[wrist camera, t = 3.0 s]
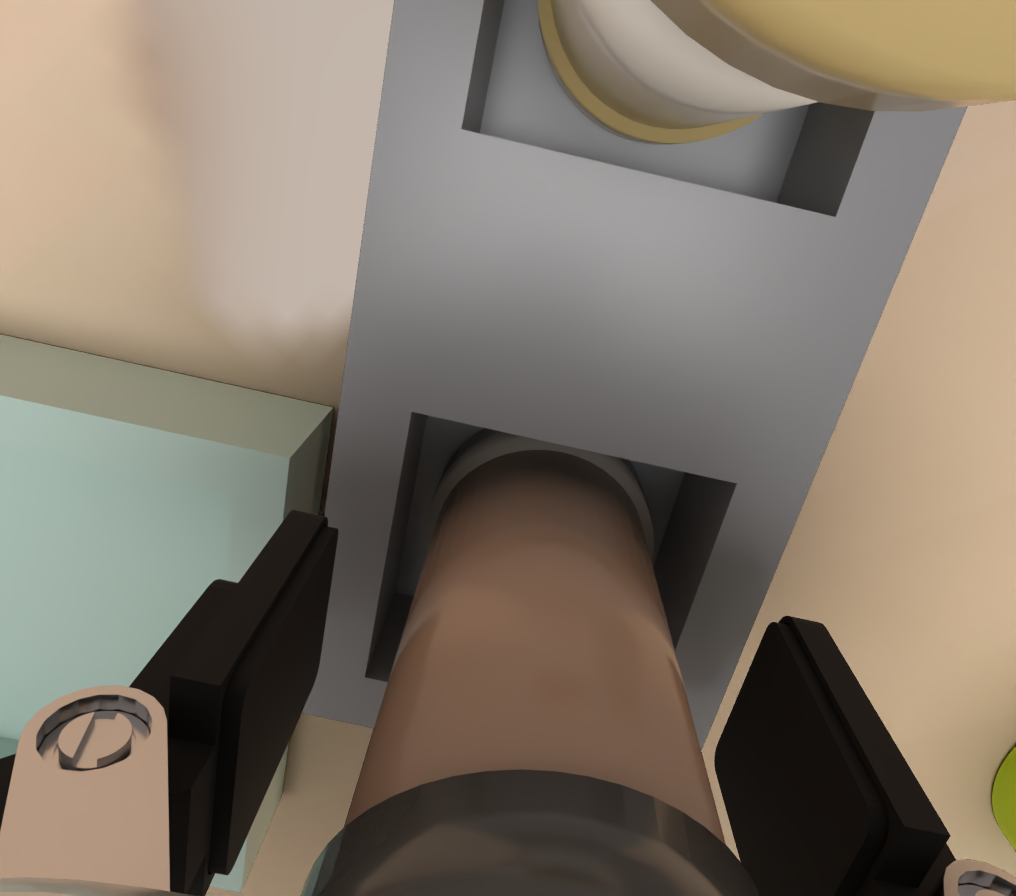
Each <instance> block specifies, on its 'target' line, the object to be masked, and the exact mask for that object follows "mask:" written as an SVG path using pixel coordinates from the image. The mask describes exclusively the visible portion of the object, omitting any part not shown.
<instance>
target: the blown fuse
mask: <svg viewBox="0 0 1016 896" xmlns="http://www.w3.org/2000/svg"><path fill="white" fill-rule="evenodd" d="M653 549H654V534H653V527H652V522H651V517H650V514H649V510H648V507H647V503H646V500H645V497H644V493H643V490H642V486H641V483H640V481H639V478H638V475H637V473H636V471H635V469H634V467H633V465H632V463H631V462H630V460H628V459H623V458H619V457H614V456H610V455H605V454H601V453H596V452H592V451H587V450H582V449H578V448H573V447H569V446H564V445H560V444H555V443H551V442H546V441H542V440H537V439H533V438H528V437H523V436H519V435H514V434H510V433H505V432H501V431H496V430H492V429H487V428H483V429H482V430H480V431H479V432H477V433H476V434H474V435H473V436H471V437H470V438H469V439H468V440H467V441H466V442H464V443H463V444H462V445H461V446H460V447H459V448H458V450H457V451H456V452H455V453H454V454H453V456H452V457H451V458H450V460H449V462H448V463H447V465H446V467H445V469H444V471H443V473H442V475H441V478H440V480H439V483H438V486H437V489H436V492H435V495H434V498H433V501H432V504H431V507H430V510H429V514H428V518H427V521H426V528H425V552H426V558H425V561H424V565H423V568H422V571H421V575H420V578H419V581H418V585H417V588H416V591H415V594H414V598H413V601H412V604H411V608H410V611H409V614H408V617H407V621H406V624H405V627H404V631H403V634H402V637H401V641H400V644H399V647H398V650H397V654H396V657H395V660H394V664H393V667H392V670H391V673H390V677H389V680H388V683H387V687H386V690H385V693H384V697H383V700H382V703H381V706H380V710H379V713H378V716H377V720H376V723H375V726H374V729H373V733H372V736H371V739H370V743H369V746H368V749H367V753H366V756H365V759H364V762H363V766H362V769H361V772H360V776H359V779H358V782H357V785H356V789H355V792H354V795H353V799H352V802H351V805H350V809H349V812H348V815H347V818H346V822H345V825H344V828H343V829H342V830H341V831H340V832H339V833H338V834H337V835H336V836H335V837H334V838H333V839H332V840H331V841H330V842H329V843H328V845H327V846H326V847H325V849H324V850H323V852H322V853H321V854H320V856H319V857H318V859H317V860H316V861H315V863H314V865H313V867H312V869H311V871H310V874H309V876H308V878H307V880H306V882H305V885H304V888H303V891H302V894H301V896H760V895H759V892H758V889H757V887H756V886H755V884H754V882H753V880H752V879H751V877H750V875H749V874H748V872H747V870H746V869H745V867H744V866H743V865H742V863H741V862H740V861H739V860H738V859H737V857H736V856H735V855H734V854H733V853H732V851H731V850H730V849H729V848H728V847H727V846H726V844H725V840H724V836H723V832H722V829H721V825H720V821H719V817H718V813H717V809H716V806H715V802H714V798H713V794H712V790H711V787H710V783H709V779H708V775H707V771H706V768H705V764H704V760H703V756H702V752H701V748H700V745H699V741H698V737H697V733H696V729H695V726H694V722H693V718H692V714H691V710H690V706H689V703H688V699H687V695H686V691H685V687H684V684H683V680H682V676H681V672H680V668H679V665H678V661H677V657H676V653H675V649H674V645H673V642H672V638H671V634H670V630H669V626H668V623H667V619H666V615H665V611H664V607H663V603H662V600H661V596H660V592H659V588H658V584H657V581H656V577H655V573H654V569H653V565H652V558H653Z"/></svg>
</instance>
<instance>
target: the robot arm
mask: <svg viewBox="0 0 1016 896" xmlns="http://www.w3.org/2000/svg"><path fill="white" fill-rule="evenodd" d="M337 541H338V529H337V528H333V527H328V519H327V517H325V516H320V515H315V514H311V513H306V512H301V511H297V510H291V511H290V512H289V514H288V515H287V516H286V518H285V519H284V520H283V522H282V523H281V525H280V526H279V527H278V529H277V530H276V531H275V533H274V534H273V536H272V537H271V538H270V540H269V541H268V542H267V544H266V545H265V547H264V548H263V549H262V551H261V552H260V553H259V555H258V556H257V558H256V559H255V560H254V562H253V563H252V564H251V566H250V567H249V569H248V570H247V571H246V573H245V574H244V575H243V577H242V578H241V580H240V581H239V582H238V583H236V582H231V581H227V580H222V579H217V580H214V581H213V582H212V583H211V584H210V585H209V586H208V587H207V589H206V590H205V591H204V592H203V594H202V595H201V596H200V598H199V599H198V600H197V601H196V603H195V604H194V605H193V606H192V608H191V609H190V610H189V611H188V613H187V614H186V615H185V616H184V618H183V619H182V620H181V622H180V623H179V624H178V625H177V627H176V628H175V629H174V630H173V632H172V633H171V634H170V635H169V637H168V638H167V639H166V640H165V642H164V643H163V644H162V646H161V647H160V648H159V649H158V651H157V652H156V653H155V654H154V656H153V657H152V658H151V659H150V661H149V662H148V663H147V664H146V666H145V667H144V668H143V670H142V671H141V672H140V673H139V675H138V676H137V677H136V678H135V680H134V681H133V682H132V683H131V685H130V686H129V687H125V686H96V687H91V688H86V689H81V690H77V691H75V692H72V693H70V694H67V695H65V696H62V697H60V698H57V699H56V700H54V701H53V702H51V703H49V704H48V705H46V706H45V707H43V708H42V709H40V710H39V711H38V712H37V713H36V714H35V715H34V716H33V717H32V718H31V720H30V721H29V722H28V723H27V724H26V725H25V728H24V730H23V732H22V734H21V737H20V739H19V742H18V747H17V752H16V754H13V755H10V756H7V757H4V758H1V759H0V896H205V894H206V892H207V890H208V888H209V886H210V884H211V882H212V879H213V877H214V875H215V873H217V874H222V875H229V874H230V872H231V871H232V869H233V867H234V865H235V862H236V860H237V858H238V856H239V853H240V851H241V849H242V847H243V844H244V842H245V840H246V838H247V835H248V833H249V831H250V828H251V826H252V824H253V822H254V819H255V817H256V815H257V813H258V810H259V808H260V806H261V804H262V801H263V799H264V797H265V795H266V792H267V790H268V788H269V785H270V783H271V781H272V779H273V776H274V774H275V772H276V770H277V767H278V765H279V763H280V761H281V758H282V756H283V754H284V752H285V749H286V747H287V745H288V743H289V740H290V738H291V736H292V733H293V731H294V729H295V727H296V724H297V722H298V720H299V718H300V715H301V713H302V711H303V709H304V706H305V704H306V702H307V700H308V697H309V695H310V693H311V690H312V688H313V686H314V683H315V680H316V677H317V673H318V669H319V664H320V658H321V651H322V644H323V637H324V630H325V624H326V617H327V610H328V603H329V596H330V589H331V582H332V576H333V569H334V562H335V555H336V548H337ZM715 771H716V775H717V778H718V782H719V785H720V789H721V793H722V796H723V800H724V803H725V807H726V811H727V814H728V818H729V821H730V825H731V829H732V832H733V836H734V839H735V843H736V847H737V850H738V854H739V857H740V861H741V863H742V865H743V866H744V867H745V869H746V870H747V872H748V874H749V875H750V877H751V879H752V880H753V882H754V884H755V886H756V887H757V889H758V892H759V895H760V896H1016V877H1014V876H1012V875H1011V874H1009V873H1008V872H1006V871H1004V870H1002V869H1000V868H997V867H995V866H992V865H990V864H988V863H985V862H981V861H976V860H971V859H964V860H956V859H955V857H954V856H953V854H952V852H951V851H950V849H949V847H948V845H947V844H946V842H947V840H948V839H949V837H950V834H949V832H948V831H947V829H946V827H945V826H944V824H943V822H942V821H941V819H940V817H939V816H938V814H937V812H936V811H935V809H934V807H933V806H932V804H931V802H930V801H929V799H928V797H927V796H926V794H925V792H924V791H923V789H922V787H921V786H920V784H919V782H918V781H917V779H916V777H915V776H914V774H913V772H912V771H911V769H910V767H909V766H908V764H907V762H906V761H905V759H904V757H903V756H902V754H901V752H900V751H899V749H898V747H897V746H896V744H895V742H894V741H893V739H892V737H891V736H890V734H889V732H888V731H887V729H886V727H885V726H884V724H883V722H882V721H881V719H880V717H879V716H878V714H877V712H876V711H875V709H874V707H873V706H872V704H871V702H870V701H869V699H868V697H867V696H866V694H865V692H864V691H863V689H862V687H861V686H860V684H859V682H858V681H857V679H856V677H855V676H854V674H853V672H852V670H851V669H850V667H849V665H848V664H847V662H846V660H845V659H844V657H843V655H842V654H841V652H840V650H839V649H838V647H837V645H836V644H835V642H834V640H833V639H832V637H831V635H830V634H829V632H828V630H827V629H826V627H825V626H824V625H823V624H821V623H818V622H814V621H809V620H804V619H800V618H795V617H790V616H785V617H783V618H782V619H781V620H780V621H779V623H776V622H772V623H770V624H769V625H768V627H767V629H766V631H765V633H764V636H763V638H762V640H761V643H760V645H759V647H758V650H757V652H756V654H755V657H754V659H753V662H752V664H751V666H750V669H749V671H748V673H747V676H746V678H745V680H744V683H743V685H742V688H741V690H740V692H739V695H738V697H737V699H736V702H735V704H734V706H733V709H732V711H731V714H730V716H729V718H728V721H727V723H726V725H725V728H724V730H723V732H722V735H721V737H720V740H719V742H718V744H717V747H716V751H715Z"/></svg>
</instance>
